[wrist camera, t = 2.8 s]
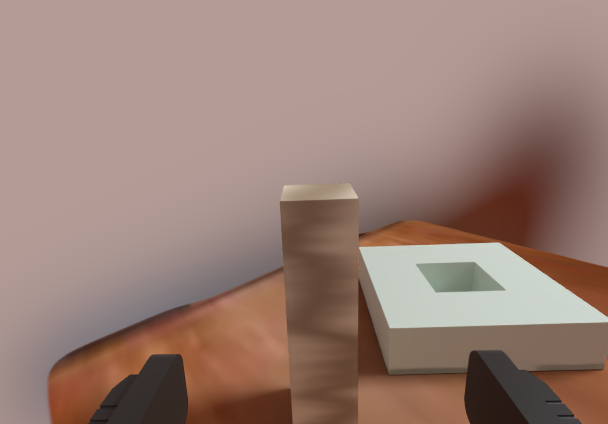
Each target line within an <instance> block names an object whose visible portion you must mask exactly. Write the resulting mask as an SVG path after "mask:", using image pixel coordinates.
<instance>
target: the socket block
mask: <svg viewBox="0 0 608 424" xmlns="http://www.w3.org/2000/svg"><path fill="white" fill-rule="evenodd" d="M359 281H360V284H361V288H362V291H363V294H364V297H365V301H366V304H367V307H368V310H369V314H370V317H371V320H372V323H373V326H374V330H375V333H376V336H377V339H378V343H379V346H380V349H381V352H382V355H383V359H384V362H385V365H386V368H387V372H388V375H399V374H437V373H467V369H468V360H469V355H470V352H471V351H473V350H501V351H503V352H504V353H505V354H506V355H507V356H508V357H509V358H510V360H511V361H512V362H513V363H514V364H515V366H516V367H517V368H518V369H519V370H527V371H551V370H589V369H604V366H605V361H606V357H607V352H608V317H606V316H605V315H603V314H602V313H601V312H599V311H598V310H596V309H595V308H593V307H592V306H590V305H589V304H587V303H586V302H585V301H583V300H582V299H580V298H579V297H577V296H576V295H574V294H573V293H571V292H570V291H569V290H567V289H566V288H564V287H563V286H561V285H560V284H558V283H557V282H555V281H554V280H553V279H551V278H550V277H548V276H547V275H545V274H544V273H542V272H541V271H539V270H538V269H537V268H535V267H534V266H532V265H531V264H529V263H528V262H526V261H525V260H523V259H522V258H521V257H519V256H518V255H516V254H515V253H513V252H512V251H510V250H509V249H507V248H506V247H505V246H503V245H502V244H500V243H476V244H445V245H414V246H383V247H359Z"/></svg>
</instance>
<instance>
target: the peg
mask: <svg viewBox="0 0 608 424" xmlns="http://www.w3.org/2000/svg"><path fill="white" fill-rule="evenodd" d="M358 209H359V199H358V197H357V195H356V193H355V192H354V190H353V188H352V186H351V185H350V183H341V184H315V185H314V184H312V185H285V186H284V189H283V193H282V196H281V199H280V212H281V229H282V247H283V264H284V282H285V299H286V316H287V334H288V351H289V369H290V386H291V404H292V421H293V424H358V222H359V219H358V218H359V213H358Z"/></svg>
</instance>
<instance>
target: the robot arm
mask: <svg viewBox="0 0 608 424" xmlns="http://www.w3.org/2000/svg"><path fill="white" fill-rule="evenodd" d="M464 401H465V409H466V413H467V416H468V419H469V422H470V424H582V423H581V422H580V421H579V420H578V419H575V417H574V414H573V413H572V412H571V411H570V410H569V409H568V408H567V406H566V405H565V404H562V403H561V400H560V399H559V397H558V396H557V395H556V394H555V393H554V392H553V391H552V390H551V389H550V387H549V386H548V385H547V384H546V383H544V382H543V381H542V380H540V379H539V378H537V377H536V376H534V375H533V374H531V373H530V372H528V371H527V370H519V369H518V368H517V367H516V366H515V364H514V363H513V362H512V361H511V360H510V358H509V357H508V356H507V355H506V354H505V353H504V352H503V351H501V350H473V351H471V352H470V355H469V360H468V369H467V378H466V387H465V397H464ZM187 411H188V397H187V389H186V381H185V373H184V365H183V359H182V356H181V355H180V354H157V355H151V356H150V357H149V359H148V360H147V362H146V363H145V365H144V366H143V368H142V369H141V371H140V373H139V374H138V375H129V376H128V377H126V378H125V379H124V380H123V381H121V382H120V383H119V384H118V385H116V386H115V387H114V388H113V389H112V390H111V391H110V393H109V394H108V395H107V397H106V398H105V400H104V401H103V403H102V404H101V405H100V409H98V410H97V411H96V412H95V414H94V415H93V417H92V418H91V419H90V423H89V424H185V422H186V417H187Z"/></svg>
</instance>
